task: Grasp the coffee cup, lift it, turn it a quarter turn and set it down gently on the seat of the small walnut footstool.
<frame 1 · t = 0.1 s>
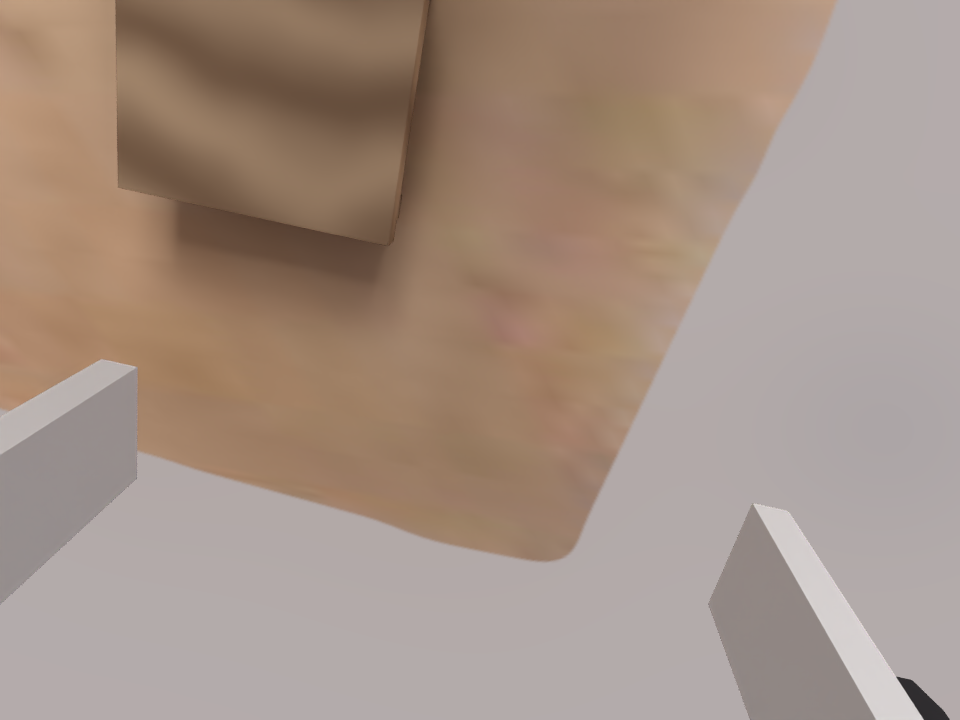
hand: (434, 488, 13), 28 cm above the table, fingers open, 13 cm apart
footstool: (300, 74, 37), on the table
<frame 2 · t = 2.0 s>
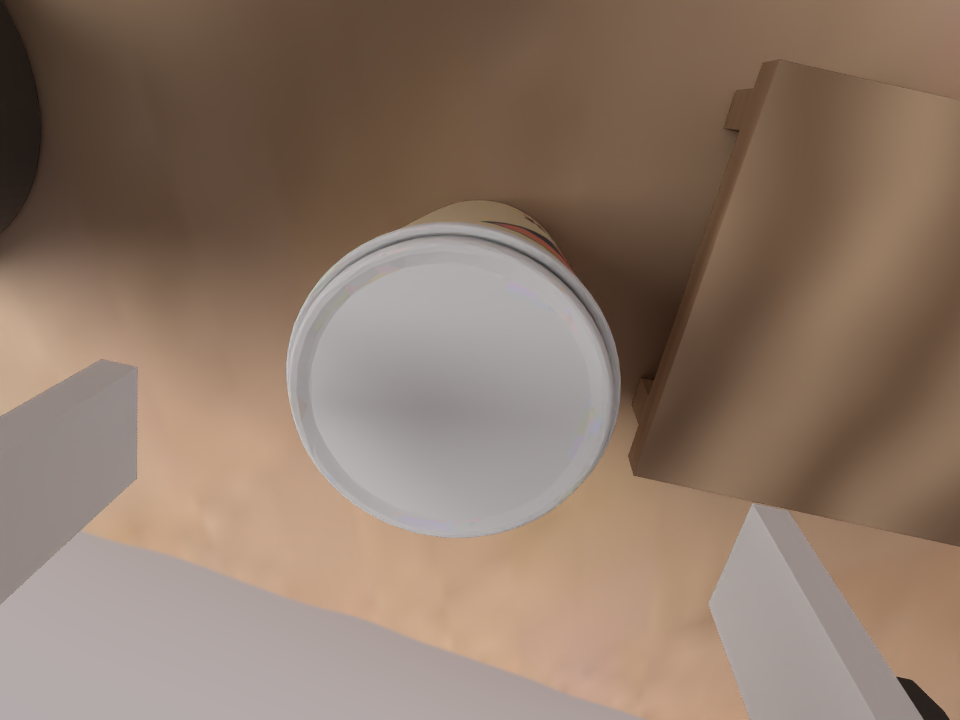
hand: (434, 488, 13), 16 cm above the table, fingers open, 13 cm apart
coffee cup: (479, 286, 28), on the table
footstool: (835, 297, 27), on the table
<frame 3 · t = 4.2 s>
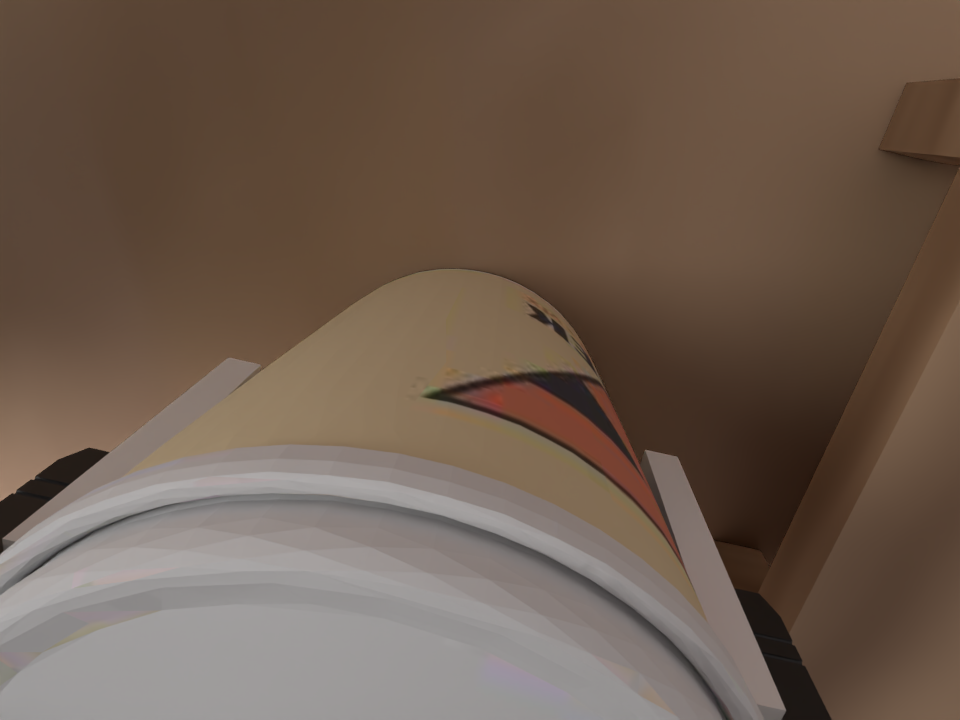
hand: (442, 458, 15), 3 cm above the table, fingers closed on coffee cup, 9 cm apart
coffee cup: (457, 401, 18), on the table, touching gripper
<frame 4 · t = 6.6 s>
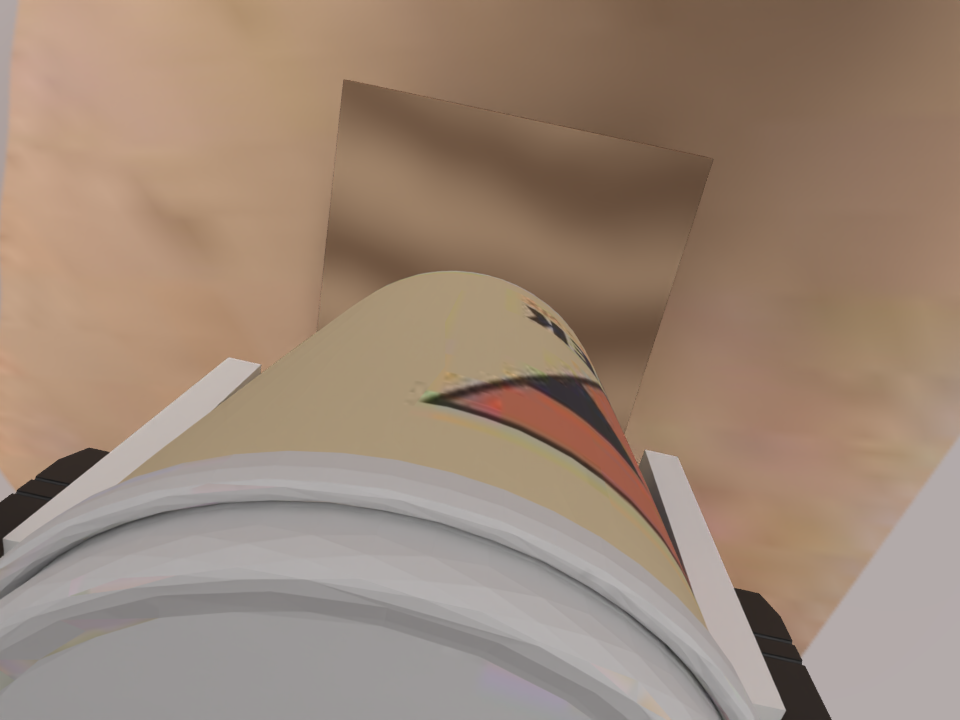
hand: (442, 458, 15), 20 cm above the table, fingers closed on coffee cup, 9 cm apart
coffee cup: (457, 403, 18), point 17 cm above the table, touching gripper
footstool: (497, 268, 33), on the table
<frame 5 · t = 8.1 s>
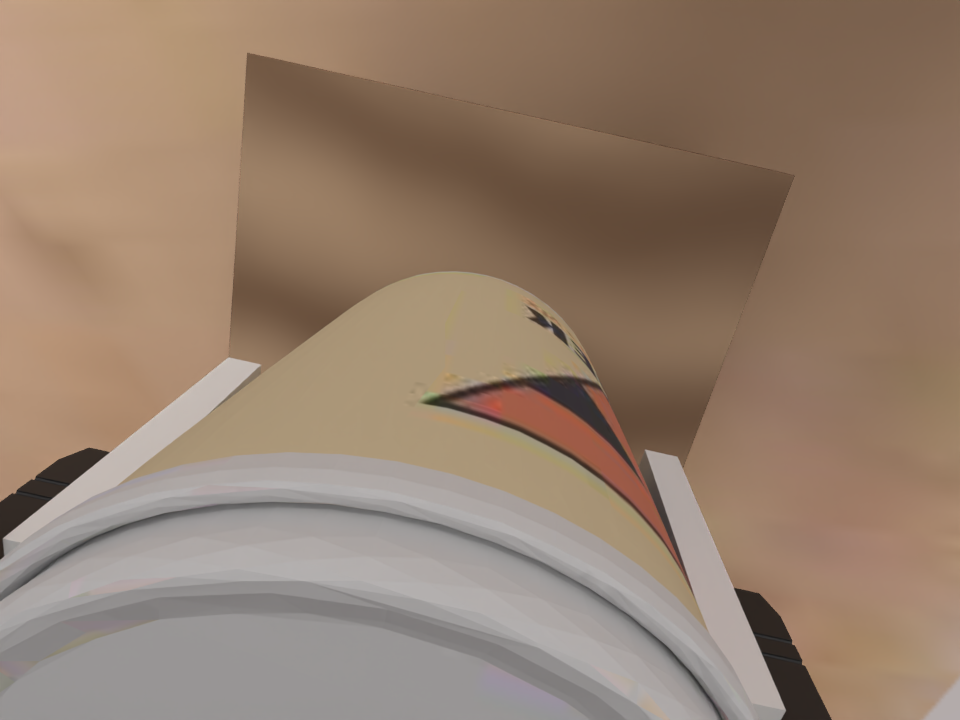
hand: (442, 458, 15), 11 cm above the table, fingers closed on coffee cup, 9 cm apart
coffee cup: (457, 403, 18), point 8 cm above the table, touching gripper
footstool: (480, 314, 25), on the table
when the fingers open (9 cm above the table, at t = 9.3 s): coffee cup stays where it is, resting on footstool.
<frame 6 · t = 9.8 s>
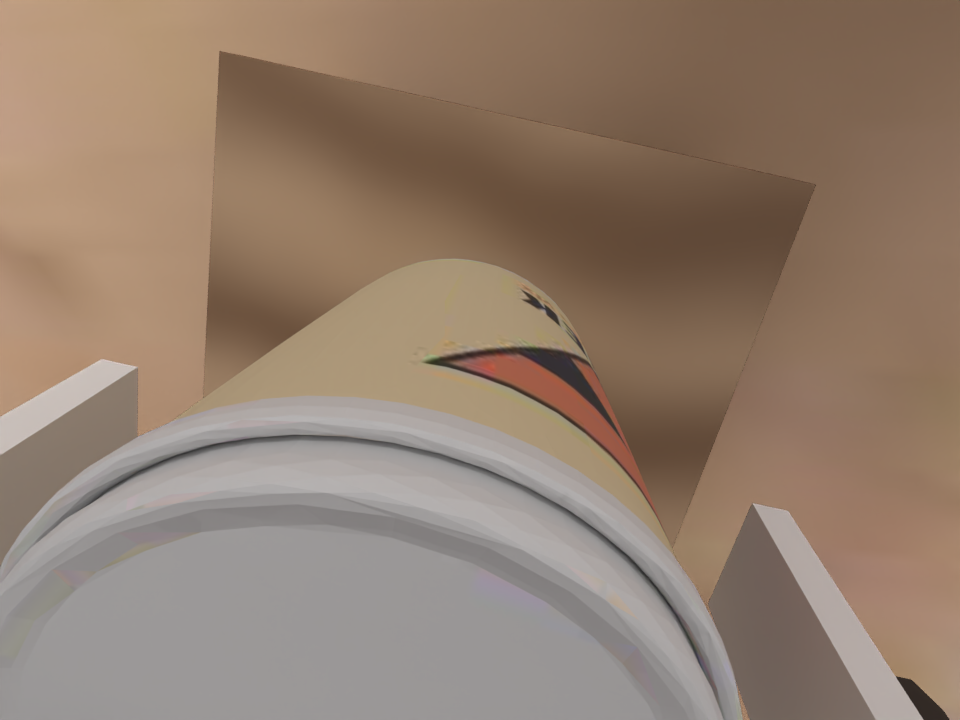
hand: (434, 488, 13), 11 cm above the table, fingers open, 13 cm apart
coffee cup: (456, 385, 18), point 5 cm above the table, touching footstool
footstool: (475, 329, 23), on the table
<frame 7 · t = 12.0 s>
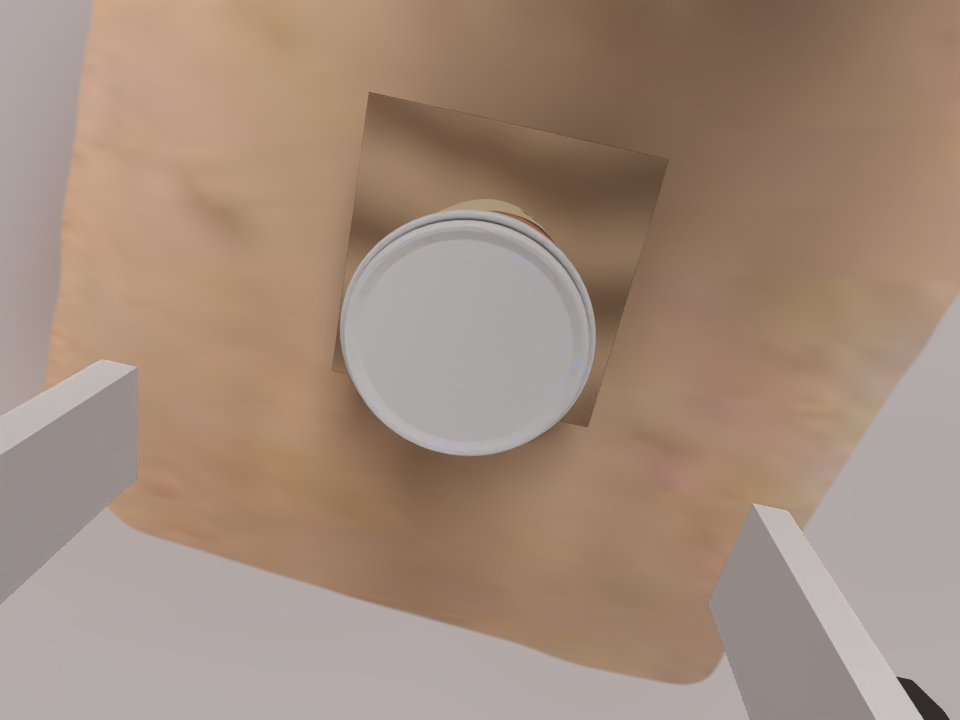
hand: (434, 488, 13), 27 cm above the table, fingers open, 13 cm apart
coffee cup: (485, 271, 34), point 5 cm above the table, touching footstool
footstool: (492, 253, 39), on the table
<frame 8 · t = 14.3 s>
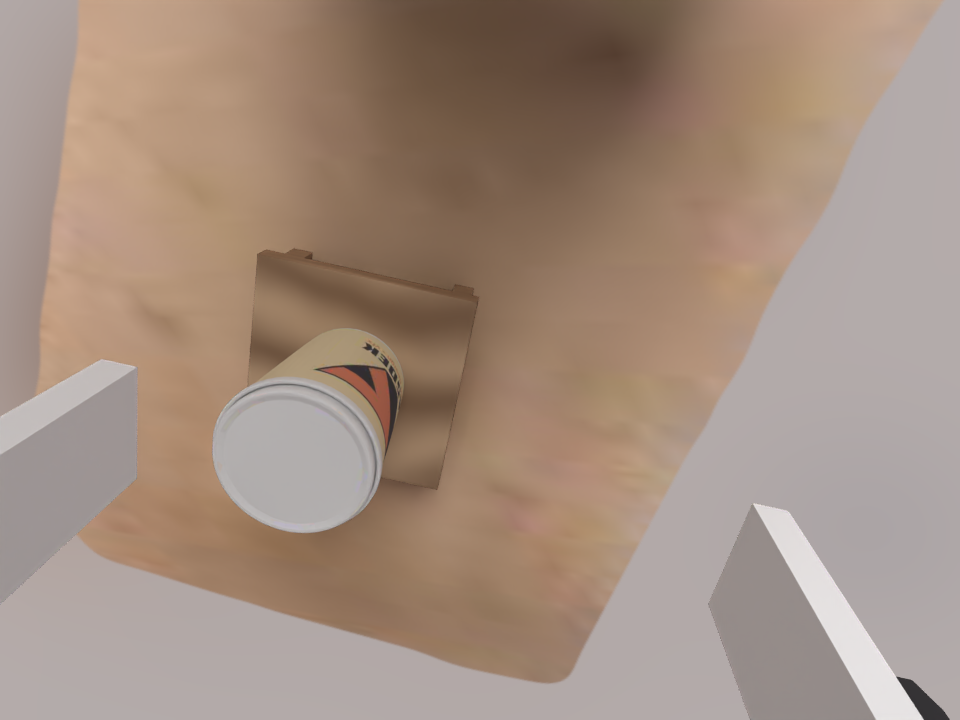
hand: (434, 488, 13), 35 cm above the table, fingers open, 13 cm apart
coffee cup: (351, 377, 45), point 5 cm above the table, touching footstool
footstool: (371, 352, 50), on the table
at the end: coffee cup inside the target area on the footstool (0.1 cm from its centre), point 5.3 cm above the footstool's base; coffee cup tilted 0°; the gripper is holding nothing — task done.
